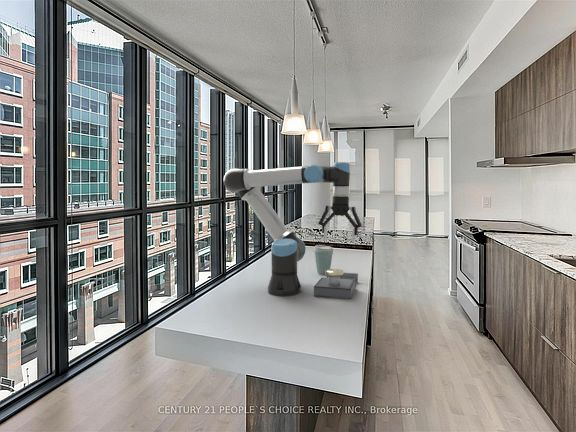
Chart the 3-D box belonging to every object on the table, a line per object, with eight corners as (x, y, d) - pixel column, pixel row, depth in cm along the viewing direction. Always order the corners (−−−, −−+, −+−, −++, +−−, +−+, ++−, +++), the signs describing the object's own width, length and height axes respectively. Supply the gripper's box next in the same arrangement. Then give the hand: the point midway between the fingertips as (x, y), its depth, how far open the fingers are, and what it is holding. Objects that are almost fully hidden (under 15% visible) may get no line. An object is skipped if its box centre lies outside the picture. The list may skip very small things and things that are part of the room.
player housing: (350, 299, 166) (350, 278, 165) (313, 296, 170) (314, 276, 170) (355, 289, 181) (355, 270, 180) (321, 286, 186) (321, 268, 185)
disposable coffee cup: (333, 271, 218) (333, 244, 217) (333, 275, 207) (333, 248, 206) (314, 270, 219) (314, 244, 218) (313, 275, 208) (313, 247, 207)
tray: (353, 290, 178) (354, 281, 178) (320, 288, 183) (320, 279, 182) (357, 282, 194) (358, 273, 194) (326, 279, 198) (327, 271, 198)
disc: (332, 277, 167) (332, 273, 167) (321, 273, 174) (321, 270, 174) (347, 275, 171) (347, 271, 171) (336, 271, 178) (336, 268, 178)
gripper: (369, 196, 180) (367, 241, 182) (317, 194, 189) (316, 237, 191) (366, 197, 173) (364, 244, 175) (312, 195, 182) (311, 239, 184)
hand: (339, 241), depth 183 cm, fingers open, 13 cm apart
